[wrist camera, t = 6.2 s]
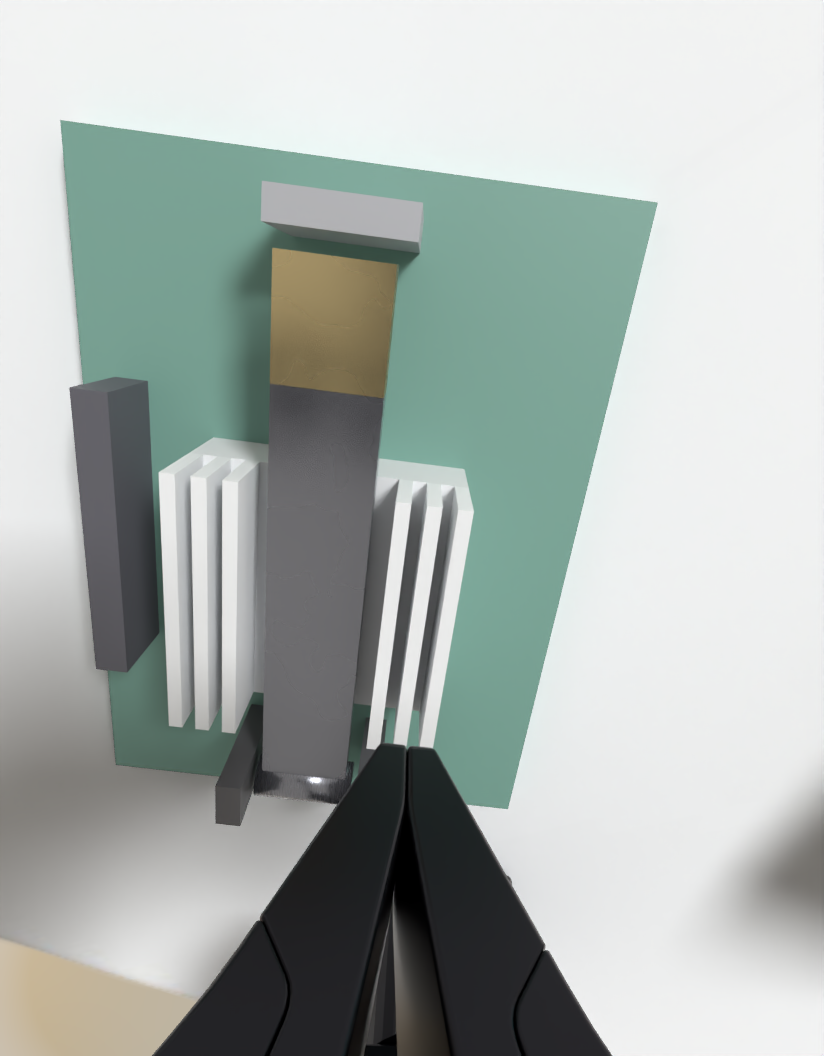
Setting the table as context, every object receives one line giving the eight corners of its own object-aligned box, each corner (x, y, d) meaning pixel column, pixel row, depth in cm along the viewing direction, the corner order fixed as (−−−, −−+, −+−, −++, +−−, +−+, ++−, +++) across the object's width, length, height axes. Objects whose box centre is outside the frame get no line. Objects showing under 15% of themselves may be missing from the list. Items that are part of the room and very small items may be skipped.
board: (504, 789, 24) (522, 904, 20) (127, 746, 24) (56, 853, 19) (644, 208, 16) (730, 171, 12) (81, 130, 16) (-60, 60, 11)
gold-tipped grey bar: (352, 781, 21) (347, 815, 20) (264, 771, 21) (253, 804, 20) (407, 266, 14) (405, 265, 13) (275, 248, 14) (260, 246, 12)
